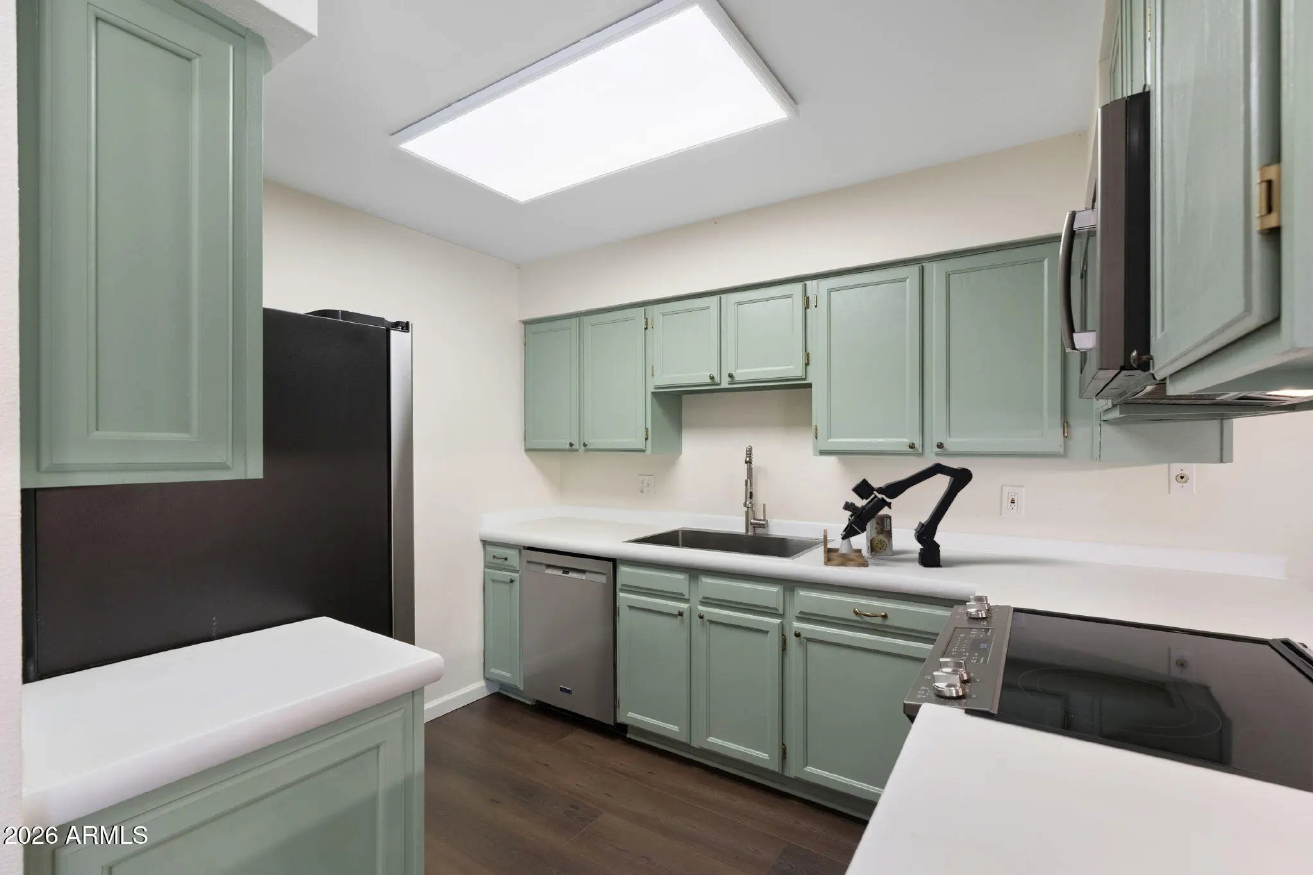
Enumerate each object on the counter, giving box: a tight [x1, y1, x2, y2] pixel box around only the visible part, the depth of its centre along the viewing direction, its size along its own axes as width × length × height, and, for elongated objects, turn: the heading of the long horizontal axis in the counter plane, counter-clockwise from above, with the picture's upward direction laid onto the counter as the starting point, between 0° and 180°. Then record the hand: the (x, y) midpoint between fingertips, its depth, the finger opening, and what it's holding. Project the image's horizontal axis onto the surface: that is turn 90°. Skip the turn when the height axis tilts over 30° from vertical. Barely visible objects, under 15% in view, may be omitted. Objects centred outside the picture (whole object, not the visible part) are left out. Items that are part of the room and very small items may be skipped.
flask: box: [838, 531, 855, 553], centre depth 229 cm, size 7×7×10 cm
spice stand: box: [822, 529, 867, 568], centre depth 229 cm, size 15×14×12 cm
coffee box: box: [865, 513, 894, 557], centre depth 243 cm, size 9×6×16 cm
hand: (841, 537), depth 229 cm, fingers open, 9 cm apart
